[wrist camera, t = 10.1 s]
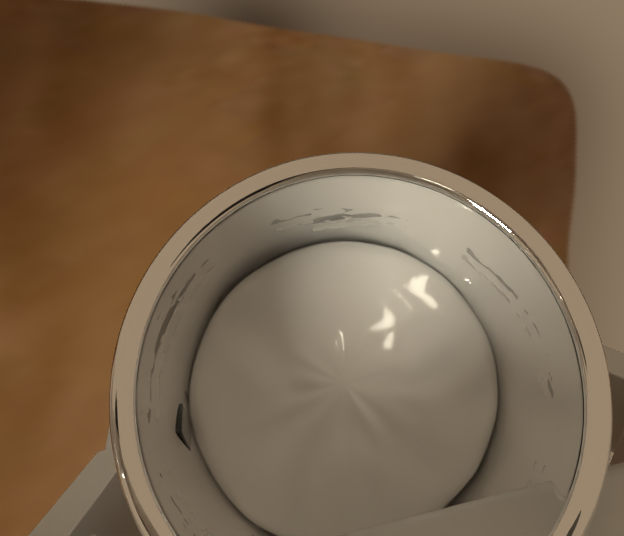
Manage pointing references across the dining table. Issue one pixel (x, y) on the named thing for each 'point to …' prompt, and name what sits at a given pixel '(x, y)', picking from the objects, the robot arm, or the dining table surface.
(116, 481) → the robot arm
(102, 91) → the dining table surface
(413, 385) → the beer glass
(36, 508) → the dining table surface
